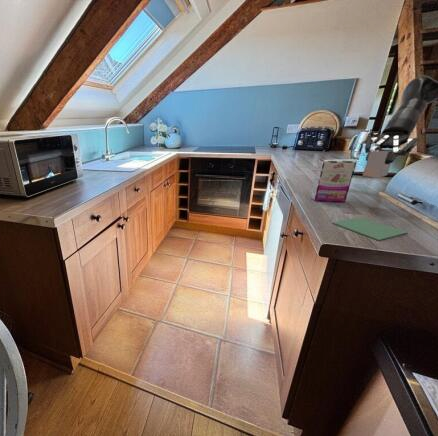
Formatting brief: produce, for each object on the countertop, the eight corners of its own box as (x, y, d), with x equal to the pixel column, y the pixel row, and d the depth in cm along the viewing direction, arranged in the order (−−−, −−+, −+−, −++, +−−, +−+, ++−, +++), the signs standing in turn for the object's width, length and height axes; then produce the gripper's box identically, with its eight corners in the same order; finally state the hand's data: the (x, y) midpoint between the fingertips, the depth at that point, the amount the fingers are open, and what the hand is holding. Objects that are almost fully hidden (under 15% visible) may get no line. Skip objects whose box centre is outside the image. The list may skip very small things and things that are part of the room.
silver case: (362, 175, 89) (370, 150, 86) (370, 172, 93) (378, 148, 90) (379, 177, 85) (388, 151, 82) (387, 175, 89) (396, 149, 86)
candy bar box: (339, 199, 102) (351, 159, 95) (345, 202, 97) (358, 161, 91) (309, 197, 104) (319, 158, 98) (313, 201, 100) (324, 160, 93)
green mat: (359, 217, 83) (359, 216, 83) (407, 233, 72) (408, 232, 71) (332, 223, 79) (332, 222, 79) (378, 241, 68) (379, 239, 67)
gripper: (428, 132, 84) (404, 171, 83) (376, 131, 96) (354, 165, 94) (431, 116, 80) (405, 157, 79) (375, 117, 91) (352, 152, 90)
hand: (377, 161), depth 86 cm, fingers closed on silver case, 5 cm apart
